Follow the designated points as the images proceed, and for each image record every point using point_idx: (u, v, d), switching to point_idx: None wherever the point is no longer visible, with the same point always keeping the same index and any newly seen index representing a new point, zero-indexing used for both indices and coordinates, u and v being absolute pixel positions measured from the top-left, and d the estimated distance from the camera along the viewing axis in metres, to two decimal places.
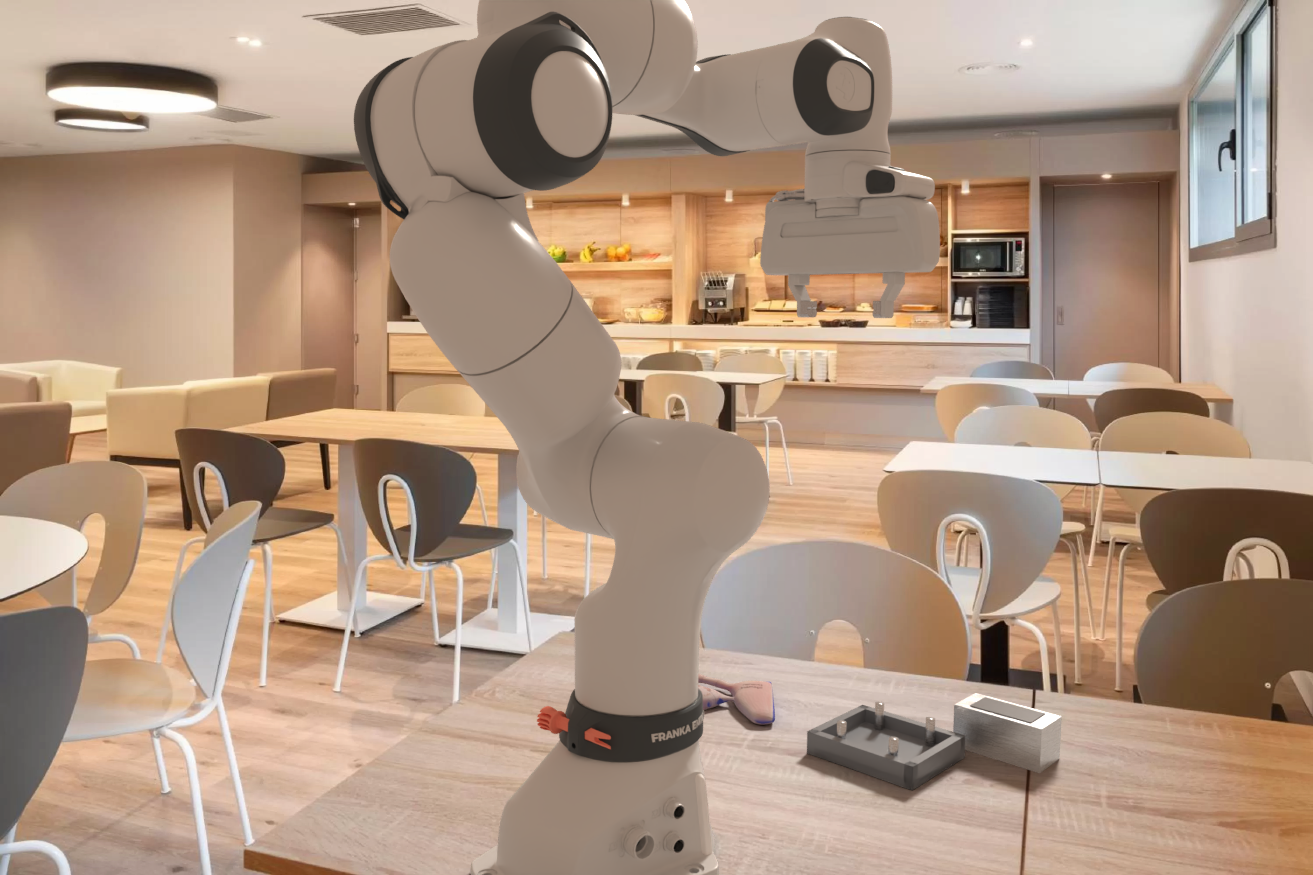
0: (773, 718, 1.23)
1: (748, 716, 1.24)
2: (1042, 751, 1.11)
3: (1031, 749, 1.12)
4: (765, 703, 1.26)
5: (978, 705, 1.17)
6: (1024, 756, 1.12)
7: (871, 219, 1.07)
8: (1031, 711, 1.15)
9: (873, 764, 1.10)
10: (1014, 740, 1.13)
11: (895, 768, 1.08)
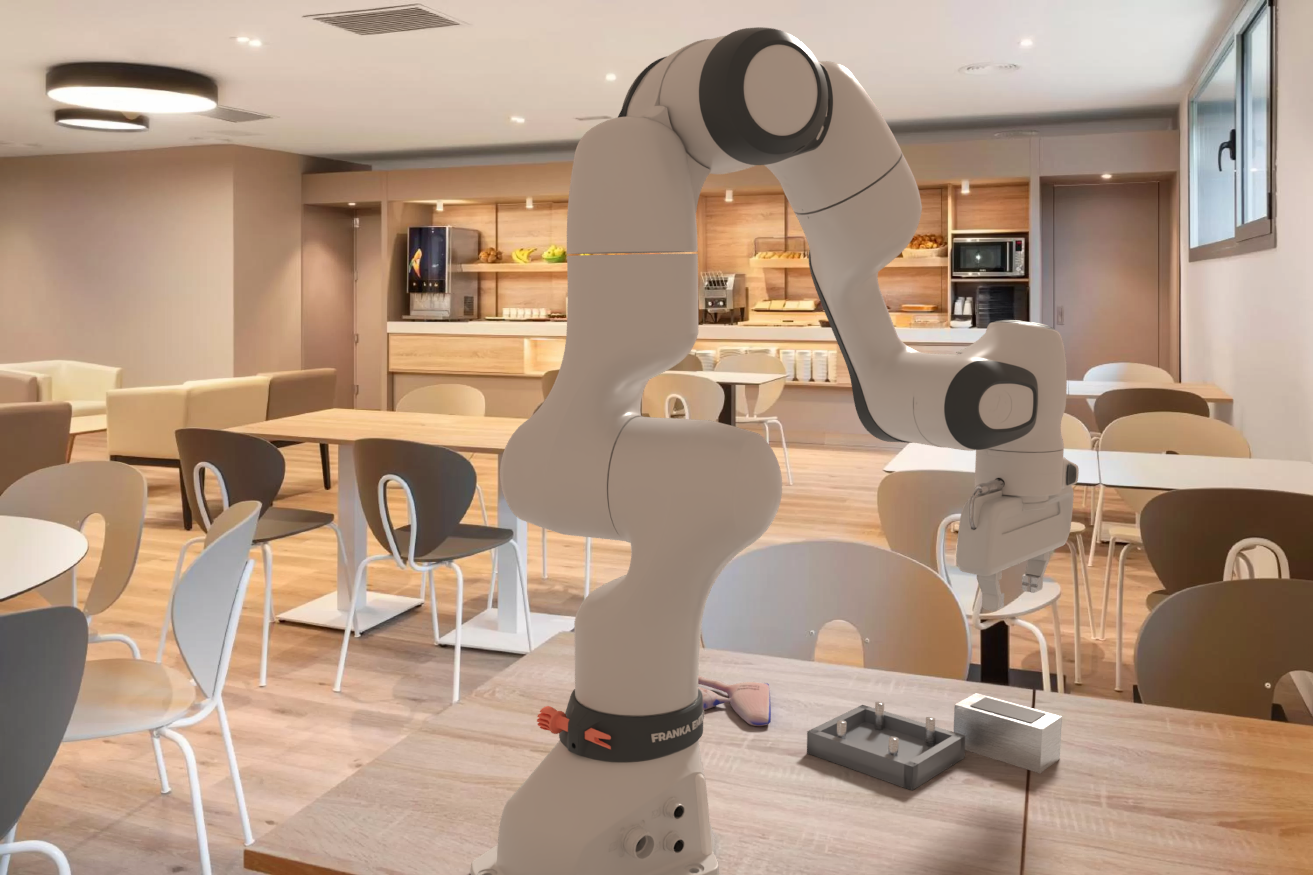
0: (769, 720, 1.23)
1: (744, 717, 1.24)
2: (1042, 751, 1.11)
3: (1031, 749, 1.11)
4: (761, 704, 1.25)
5: (978, 705, 1.17)
6: (1024, 756, 1.12)
7: None
8: (1031, 711, 1.15)
9: (873, 764, 1.10)
10: (1015, 740, 1.13)
11: (895, 768, 1.08)
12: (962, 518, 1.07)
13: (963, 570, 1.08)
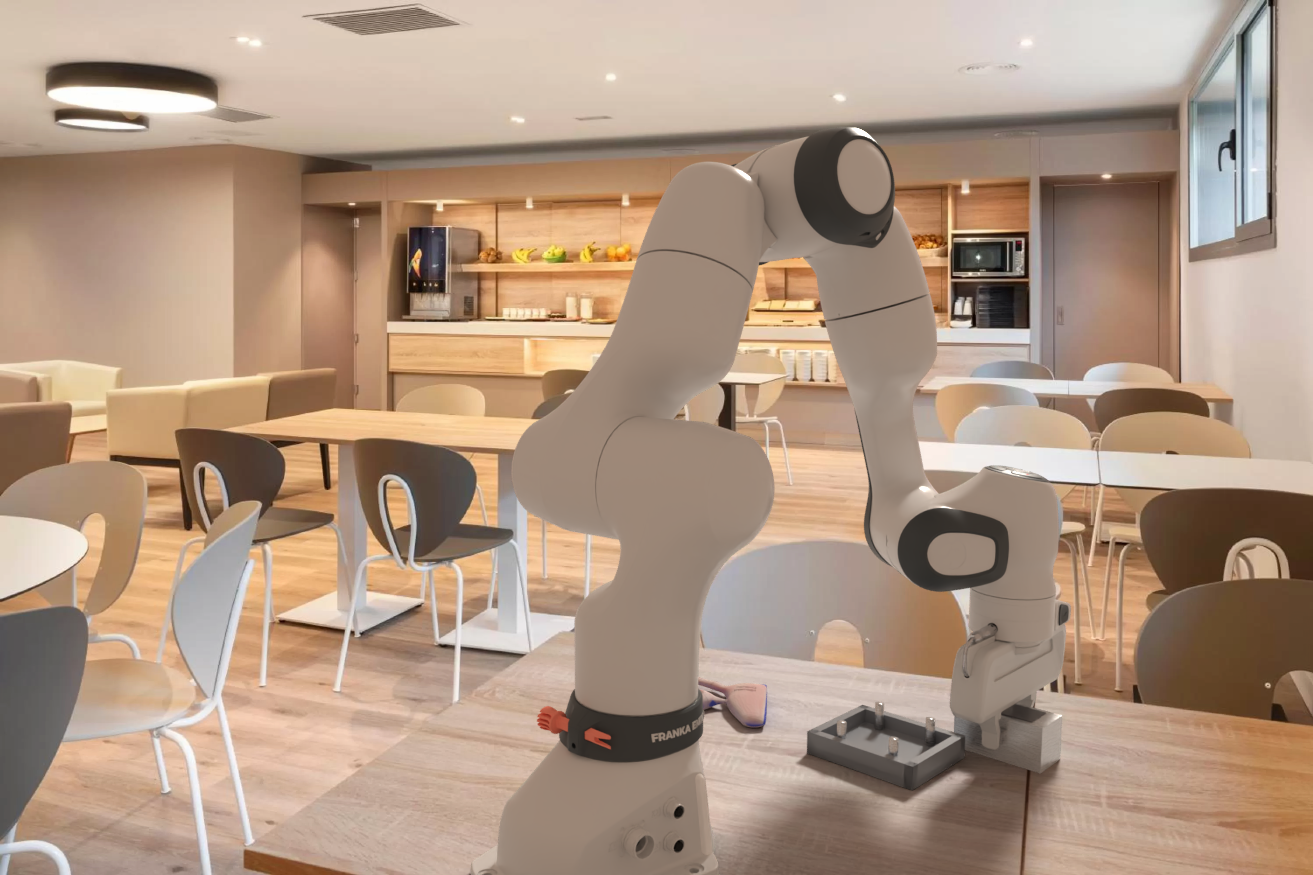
0: (764, 721, 1.22)
1: (739, 719, 1.24)
2: (1042, 750, 1.11)
3: (1032, 748, 1.11)
4: (757, 705, 1.25)
5: None
6: (1024, 755, 1.12)
7: None
8: (1031, 710, 1.15)
9: (873, 764, 1.10)
10: (1015, 739, 1.13)
11: (895, 768, 1.08)
12: (956, 665, 1.09)
13: (956, 716, 1.09)
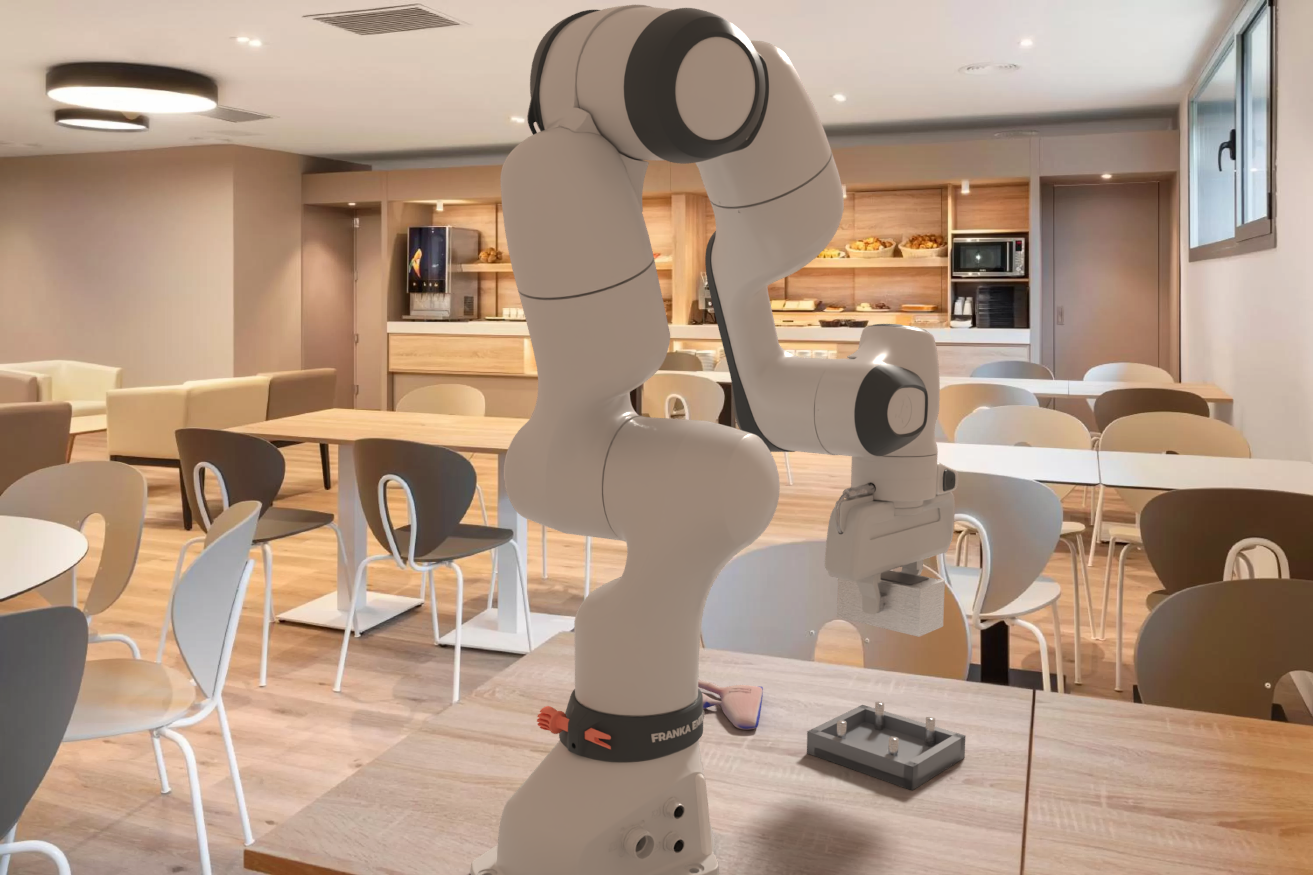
0: (756, 723, 1.22)
1: (732, 721, 1.23)
2: (921, 612, 1.08)
3: (911, 611, 1.09)
4: (750, 708, 1.24)
5: None
6: (904, 619, 1.09)
7: (924, 512, 1.14)
8: (914, 576, 1.12)
9: (873, 764, 1.10)
10: (895, 603, 1.10)
11: (895, 768, 1.08)
12: (830, 522, 1.06)
13: (831, 575, 1.07)
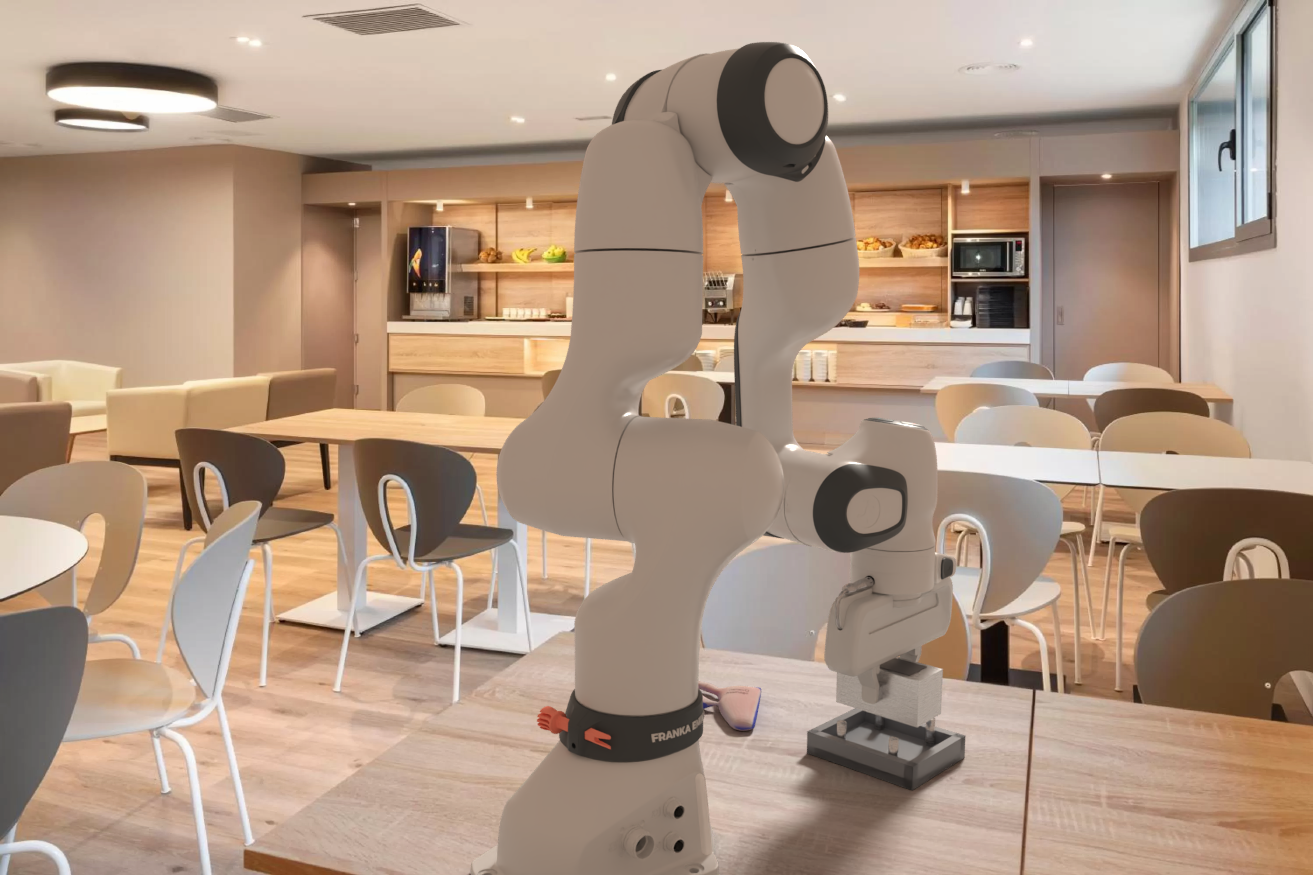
0: (753, 724, 1.21)
1: (728, 722, 1.23)
2: (919, 703, 1.10)
3: (909, 702, 1.10)
4: (747, 709, 1.24)
5: None
6: (902, 709, 1.11)
7: (922, 599, 1.15)
8: (912, 664, 1.14)
9: (873, 764, 1.10)
10: (893, 693, 1.11)
11: (895, 768, 1.08)
12: (830, 618, 1.07)
13: (831, 669, 1.08)
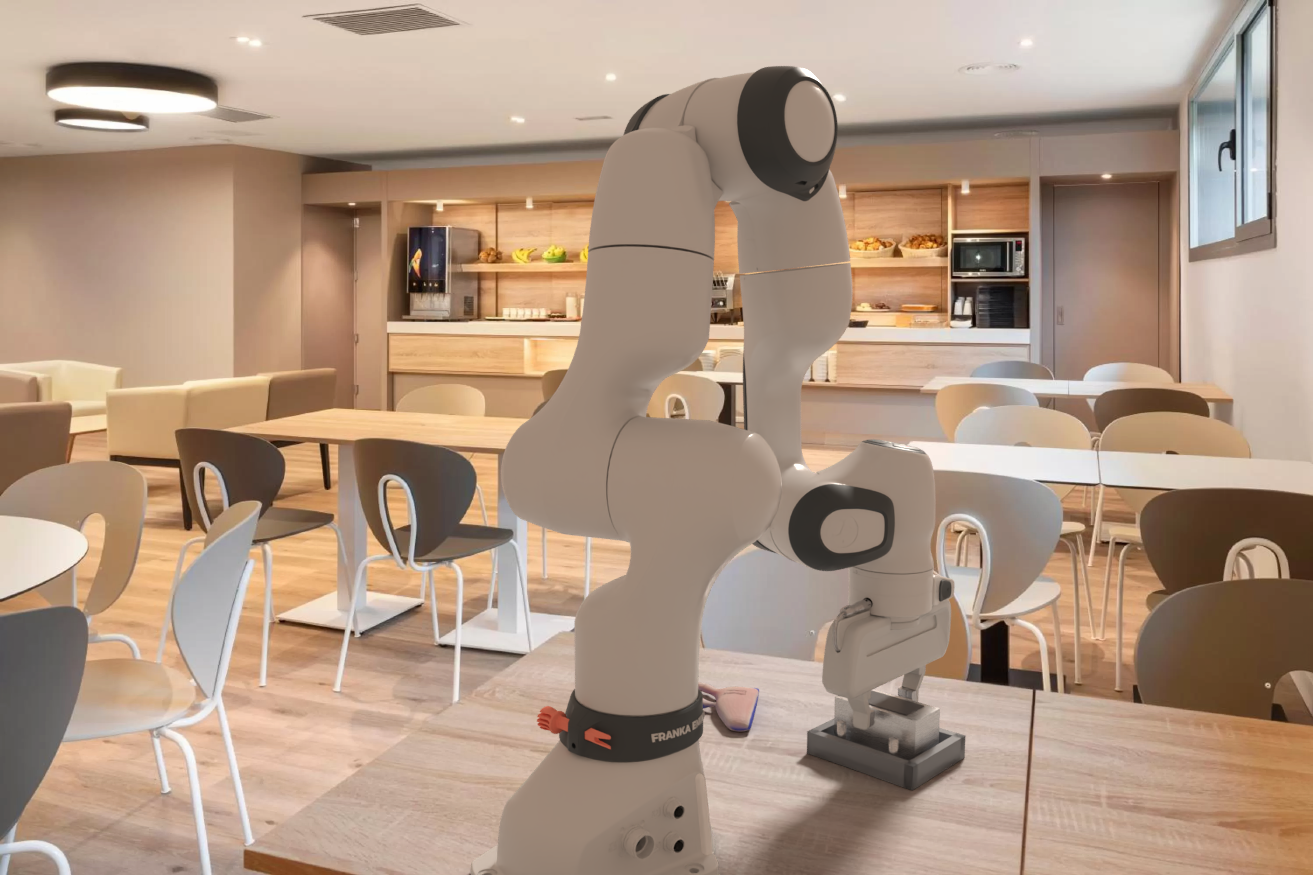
0: (749, 725, 1.21)
1: (725, 722, 1.23)
2: (916, 743, 1.10)
3: (906, 741, 1.10)
4: (744, 709, 1.24)
5: None
6: (899, 748, 1.11)
7: (920, 621, 1.15)
8: (910, 703, 1.14)
9: (873, 764, 1.10)
10: (890, 733, 1.12)
11: (895, 768, 1.08)
12: (828, 640, 1.08)
13: (829, 691, 1.08)
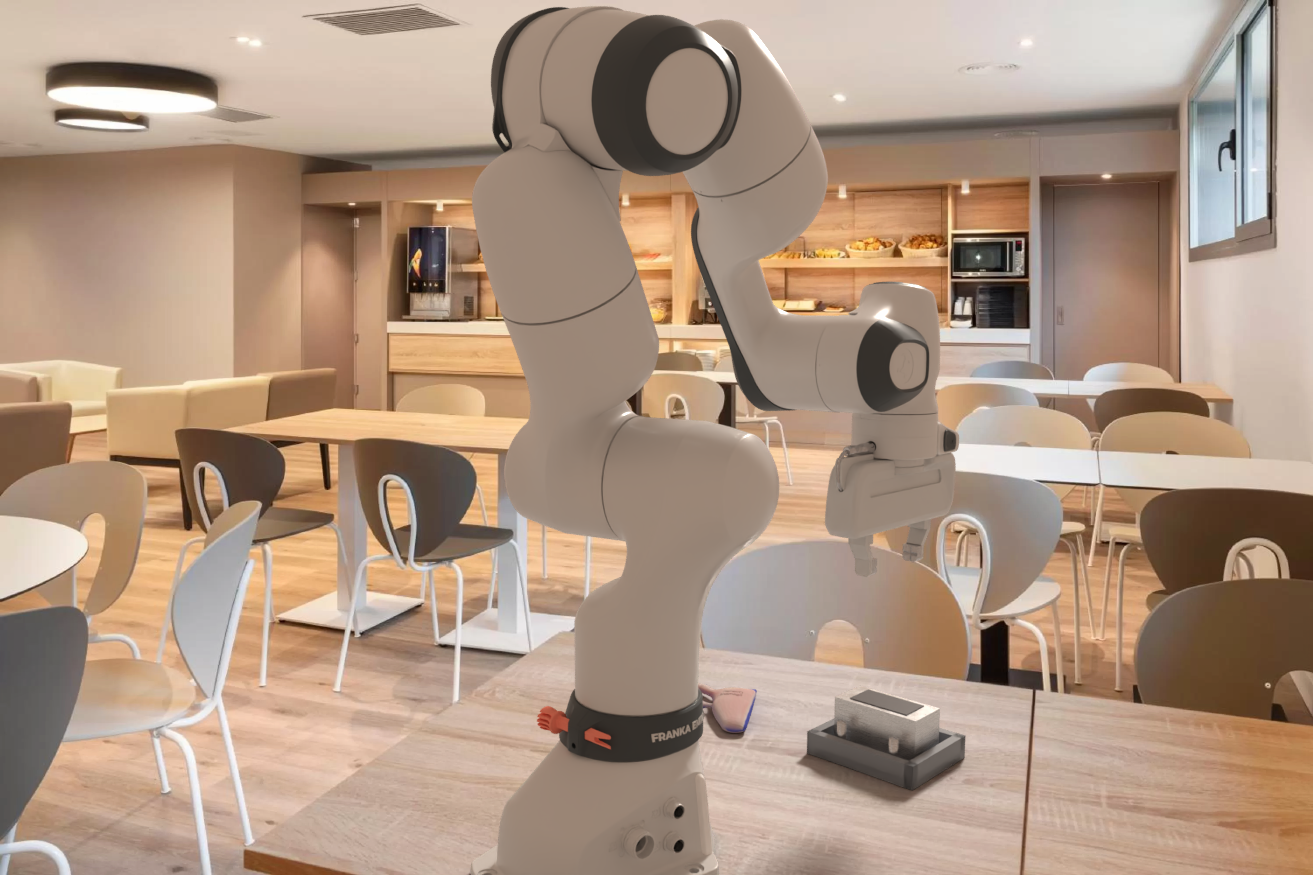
0: (744, 727, 1.21)
1: (720, 723, 1.22)
2: (916, 743, 1.10)
3: (906, 741, 1.10)
4: (739, 711, 1.23)
5: (858, 698, 1.16)
6: (899, 748, 1.11)
7: (924, 472, 1.13)
8: (910, 703, 1.14)
9: (873, 764, 1.10)
10: (890, 733, 1.12)
11: (895, 768, 1.08)
12: (830, 480, 1.06)
13: (832, 533, 1.06)
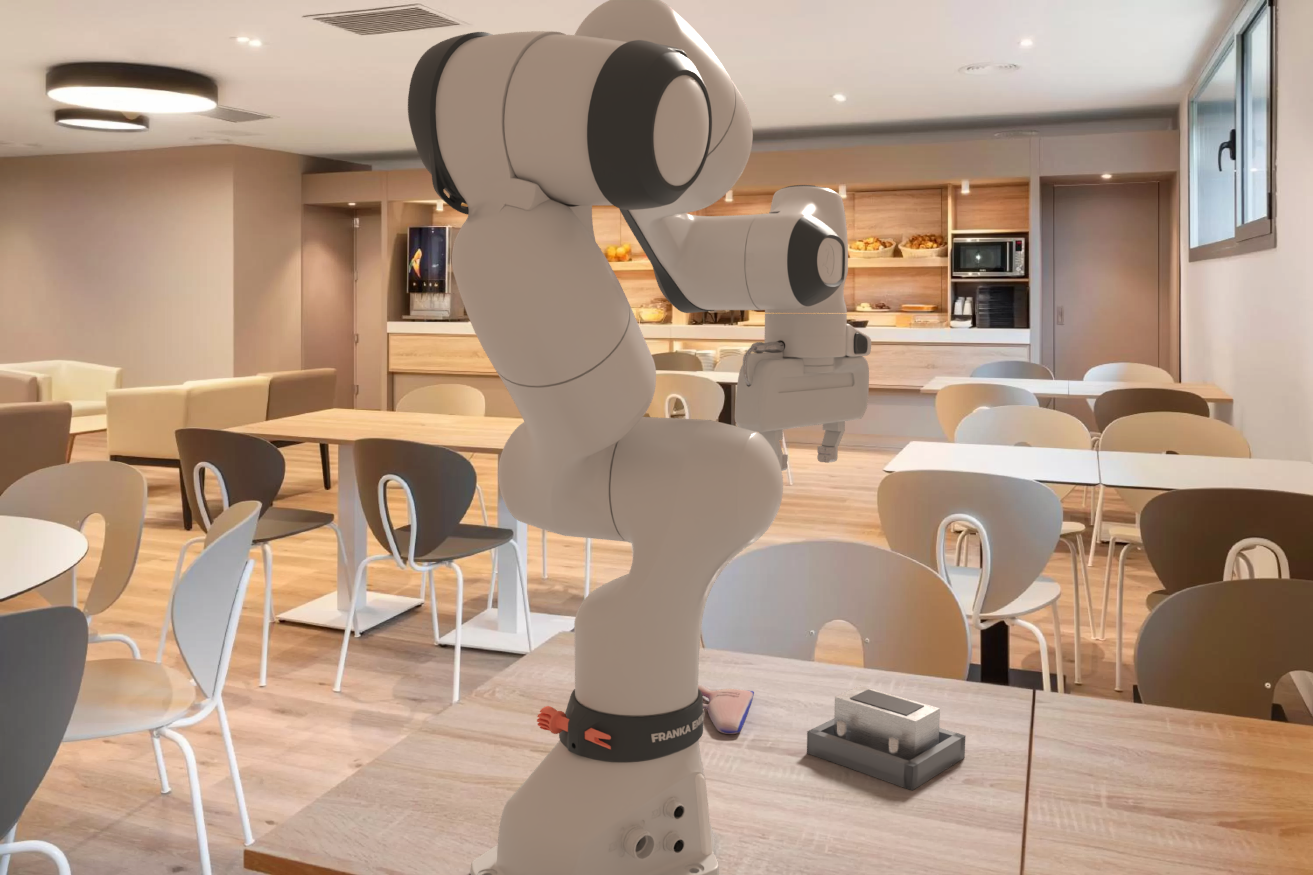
0: (738, 728, 1.20)
1: (715, 724, 1.22)
2: (916, 743, 1.10)
3: (906, 741, 1.10)
4: (735, 712, 1.23)
5: (858, 698, 1.16)
6: (899, 748, 1.11)
7: (836, 375, 1.17)
8: (910, 703, 1.14)
9: (873, 764, 1.10)
10: (890, 733, 1.12)
11: (895, 768, 1.08)
12: (739, 376, 1.10)
13: (741, 428, 1.10)
